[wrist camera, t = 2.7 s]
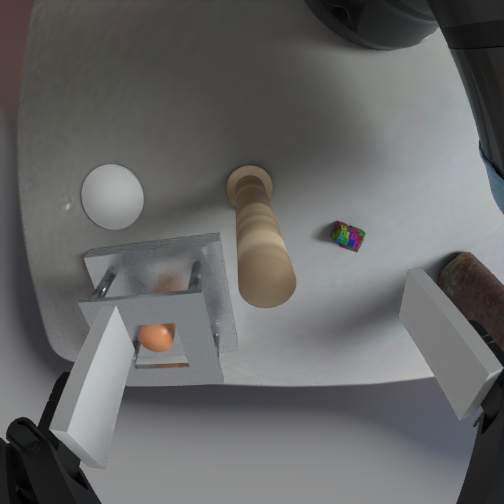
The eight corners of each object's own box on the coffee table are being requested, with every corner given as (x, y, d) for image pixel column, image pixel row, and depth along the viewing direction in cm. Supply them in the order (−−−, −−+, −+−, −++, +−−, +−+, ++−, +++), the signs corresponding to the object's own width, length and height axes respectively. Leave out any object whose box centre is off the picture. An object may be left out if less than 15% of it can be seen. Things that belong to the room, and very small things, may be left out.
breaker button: (142, 303, 32) (133, 327, 29) (173, 300, 32) (167, 325, 29) (151, 328, 34) (144, 352, 30) (181, 326, 34) (176, 351, 30)
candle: (437, 304, 39) (509, 406, 22) (427, 269, 36) (516, 379, 19) (475, 276, 38) (555, 365, 20) (469, 239, 35) (566, 331, 17)
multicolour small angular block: (325, 241, 34) (331, 252, 32) (336, 219, 33) (343, 228, 31) (356, 252, 35) (363, 262, 33) (367, 231, 34) (375, 240, 32)
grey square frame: (90, 249, 32) (59, 290, 25) (219, 232, 32) (216, 275, 25) (128, 346, 39) (114, 393, 32) (237, 339, 39) (239, 390, 32)
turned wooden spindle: (223, 167, 29) (215, 249, 14) (270, 162, 29) (312, 239, 14) (229, 210, 31) (228, 324, 16) (273, 205, 31) (311, 314, 16)
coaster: (76, 171, 28) (74, 172, 28) (136, 157, 28) (135, 158, 28) (92, 232, 31) (91, 234, 31) (150, 223, 31) (149, 225, 31)
